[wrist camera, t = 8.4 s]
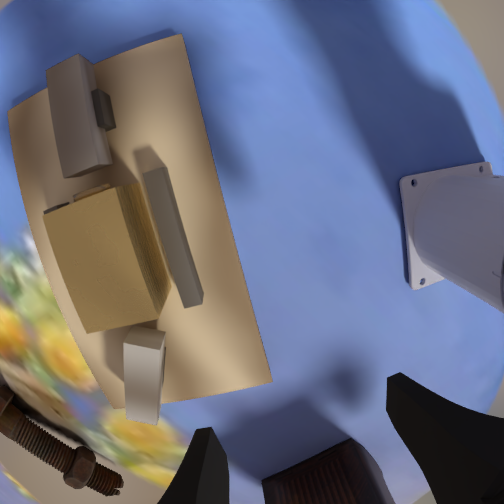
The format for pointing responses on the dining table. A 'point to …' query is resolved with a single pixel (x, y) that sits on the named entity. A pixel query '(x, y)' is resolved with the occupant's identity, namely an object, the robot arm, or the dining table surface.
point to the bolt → (56, 451)
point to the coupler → (109, 257)
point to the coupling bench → (161, 215)
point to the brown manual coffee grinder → (330, 479)
